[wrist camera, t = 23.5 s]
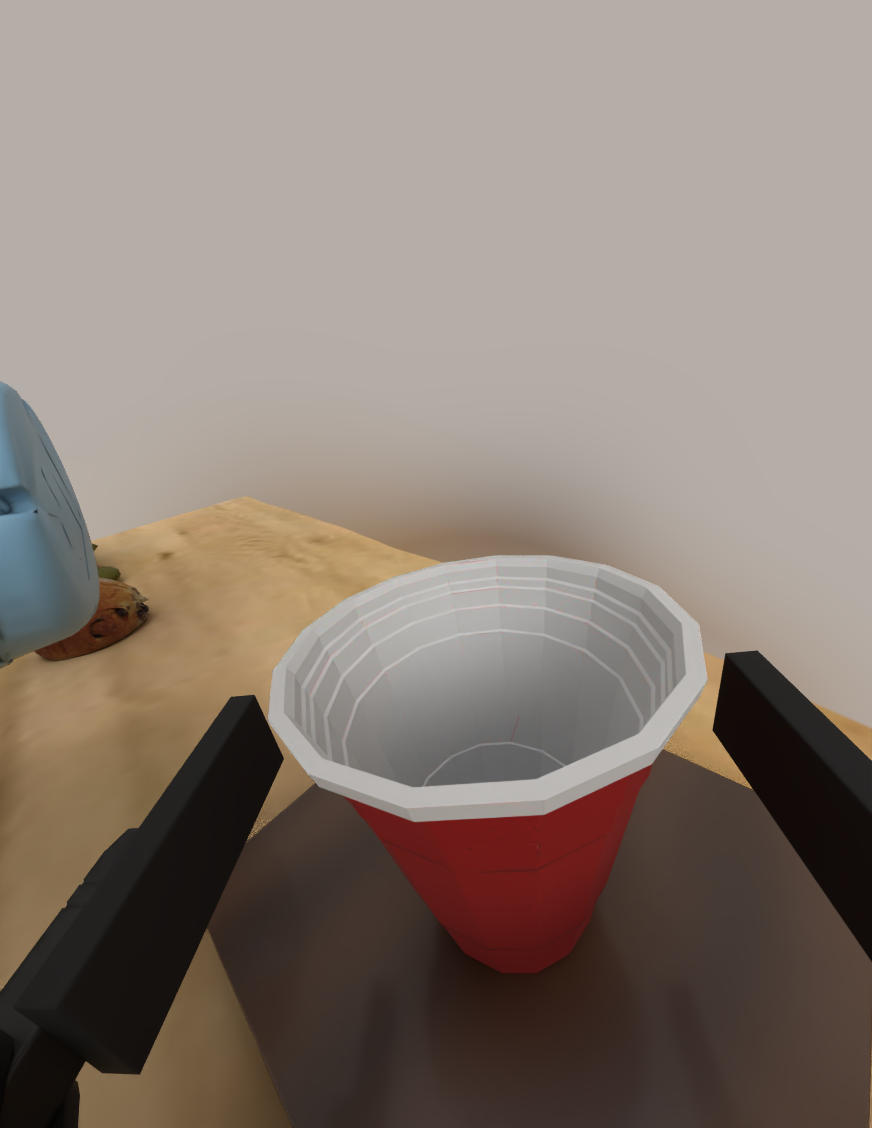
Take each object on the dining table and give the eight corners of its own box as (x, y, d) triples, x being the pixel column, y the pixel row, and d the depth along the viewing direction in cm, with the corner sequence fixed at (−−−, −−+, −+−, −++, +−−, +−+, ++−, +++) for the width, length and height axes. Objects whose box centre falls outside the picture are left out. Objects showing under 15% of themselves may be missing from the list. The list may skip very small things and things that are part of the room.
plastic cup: (579, 733, 21) (574, 515, 16) (753, 1033, 11) (878, 718, 6) (372, 782, 21) (301, 571, 16) (370, 1143, 11) (176, 890, 6)
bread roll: (127, 634, 51) (73, 586, 49) (177, 597, 48) (122, 543, 45) (53, 691, 42) (-18, 636, 40) (109, 650, 39) (35, 587, 36)
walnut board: (204, 908, 18) (190, 889, 17) (464, 674, 29) (461, 657, 28) (799, 2265, 5) (832, 2399, 4) (866, 869, 15) (878, 845, 15)
